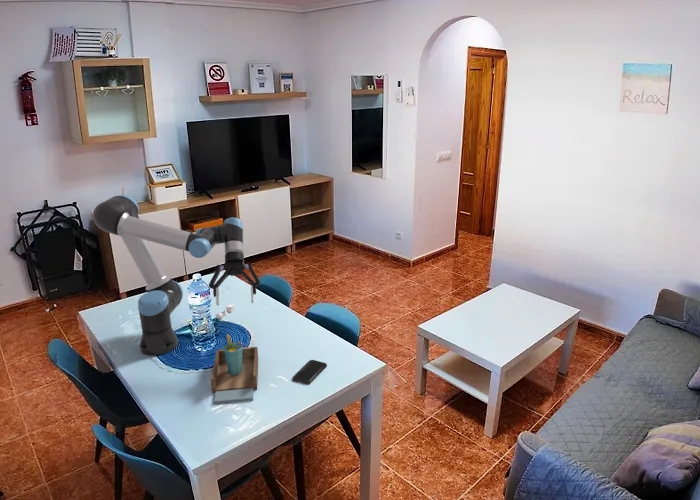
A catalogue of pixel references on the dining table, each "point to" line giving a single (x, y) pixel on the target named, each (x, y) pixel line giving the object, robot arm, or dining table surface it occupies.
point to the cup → (233, 356)
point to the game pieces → (229, 308)
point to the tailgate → (233, 395)
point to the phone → (309, 372)
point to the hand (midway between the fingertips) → (235, 303)
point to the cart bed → (240, 381)
